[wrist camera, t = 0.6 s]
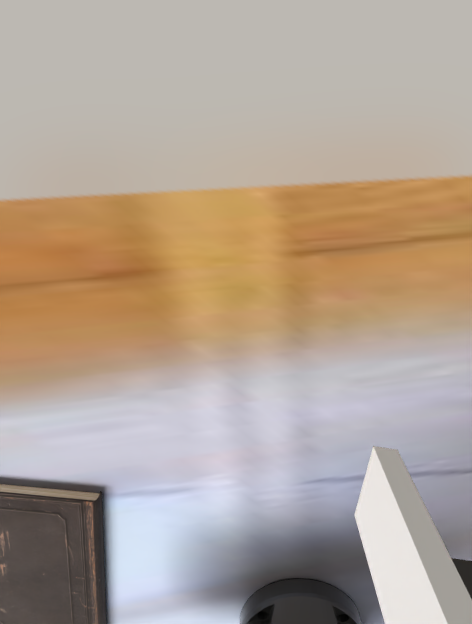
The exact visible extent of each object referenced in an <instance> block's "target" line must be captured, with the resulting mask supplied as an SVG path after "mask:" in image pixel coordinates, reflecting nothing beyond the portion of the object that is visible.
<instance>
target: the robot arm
mask: <svg viewBox="0 0 472 624" xmlns="http://www.w3.org/2000/svg"><path fill="white" fill-rule="evenodd" d="M355 519H356V522H357V526H358V530H359V533H360V537H361V540H362V544H363V547H364V551H365V554H366V558H367V562H368V565H369V569H370V572H371V576H372V579H373V583H374V586H375V590H376V594H377V597H378V601H379V604H380V608H381V611H382V615H383V618H384V622H385V624H472V561H467V560H460V559H452V558H451V557H450V555H449V553H448V551H447V549H446V547H445V545H444V543H443V541H442V539H441V537H440V535H439V533H438V531H437V529H436V527H435V525H434V523H433V521H432V519H431V517H430V515H429V513H428V511H427V509H426V507H425V505H424V503H423V501H422V499H421V497H420V495H419V493H418V491H417V489H416V487H415V485H414V483H413V481H412V479H411V476H410V474H409V472H408V470H407V468H406V466H405V464H404V462H403V460H402V458H401V456H400V454H399V452H398V450H396V449H389V448H382V447H375V446H373V449H372V453H371V456H370V460H369V464H368V467H367V471H366V475H365V478H364V482H363V486H362V489H361V493H360V496H359V500H358V504H357V507H356V511H355ZM240 624H361V620H360V615H359V612H358V609H357V607H356V606H355V604H354V603H353V601H352V600H351V599H350V598H349V597H348V596H347V595H346V594H345V593H343V592H342V591H340V590H339V589H337V588H335V587H333V586H331V585H329V584H326V583H323V582H320V581H315V580H308V579H290V580H283V581H279V582H275V583H272V584H270V585H267V586H265V587H263V588H262V589H260V590H258V591H257V592H256V593H254V594H253V595H252V596H251V597H250V598H249V599H248V600H247V602H246V603H245V605H244V607H243V609H242V611H241V615H240Z"/></svg>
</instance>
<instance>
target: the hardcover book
mask: <svg viewBox="0 0 472 624" xmlns="http://www.w3.org/2000/svg"><path fill="white" fill-rule="evenodd" d="M0 624H106V598H105V568H104V538H103V507H102V492H101V491H100V493H91V492H80V491H70V490H59V489H48V488H37V487H26V486H15V485H4V484H0Z"/></svg>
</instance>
